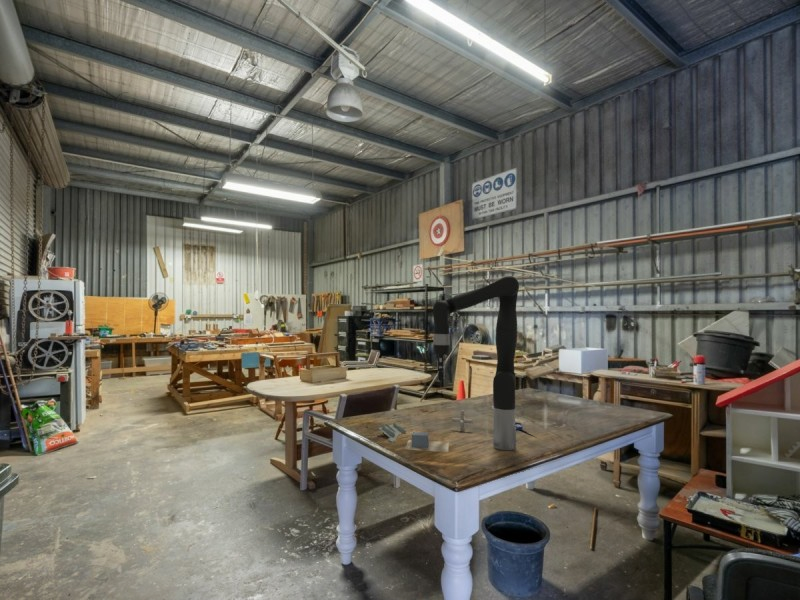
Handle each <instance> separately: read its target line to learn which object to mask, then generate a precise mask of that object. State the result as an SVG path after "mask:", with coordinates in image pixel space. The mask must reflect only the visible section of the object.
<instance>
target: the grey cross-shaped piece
mask: <svg viewBox="0 0 800 600" xmlns="http://www.w3.org/2000/svg"><path fill="white" fill-rule="evenodd" d="M451 421H452V422H455V423H458V425H459V426H460V432H465V424H473V421H474V420H473V419H468V418H466V417H465V410H460V418H457V417H456V418H455V417H452V419H451Z"/></svg>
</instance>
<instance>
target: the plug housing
mask: <svg viewBox="0 0 800 600" xmlns="http://www.w3.org/2000/svg"><path fill="white" fill-rule="evenodd" d="M411 440H412V447H422V448H428V446H429V441H430V433H429V432H418V431H416V432H415V431H412V433H411Z"/></svg>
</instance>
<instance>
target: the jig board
mask: <svg viewBox="0 0 800 600" xmlns="http://www.w3.org/2000/svg"><path fill="white" fill-rule="evenodd" d="M406 443H407V444H406V446H405V447H404V450H408V451H421V452H422V451H424V452H426V451H427V452H437V453H439V452H440V453H449V447H450V446H449V445H450V442H448V441H434V440H429V446H428V448H422V447H412V439H408V440H407V442H406Z"/></svg>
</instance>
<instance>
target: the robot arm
mask: <svg viewBox="0 0 800 600" xmlns="http://www.w3.org/2000/svg"><path fill="white" fill-rule="evenodd" d="M519 289H520V283H519V281H518V279H517V278H516V277H515V276H512V275H504V276H502V277H501V278H499V279H498V280H496V281H493V282H492V283H489V284H487V285H484V286H482V287H479V288H475V289H472V290H469V291H466V292H463V293H459V294H457V295H455V296H453V297H451V298H448V299H444V300H438V301H435V303H434V304H433V306H432V315H433V316H432V317H433V322H434V323H433V339H432V341H433V342H432V343H433V344H432V346H433V347H432V349H433V350H432V353H433V354H434V355H438V357H436V368H437V381H443V380H444V377H445V368H446V362H447V361H446V360H447V359H446V358H447V357H445V355H449V354H450V352H451V351H450V345H451V344H450V324H449V322H448V321H449V316H448V315H450V314H453V313H455V312H458V311H463V310H465V309H468V308H471V307H474V306H477V305H478V304H482V303H483V302H487V301H489V300H491V299H495V298H499V299H498V301H499V302H498V303H499V306H498V307H499V308H498V314H497V319H496V325H495V326H496V327H495V347H496V355H497V360H496V370H495V375H494V377H493V380H492V400H493V425H492V426H493V433H492V434H493V435H492V436H493V439H492V441H493V442H492V443H493V448H494V449H496V450H501V451H513V450H514V451H516V450H517V431H516V427H515V422H516V375H515V356H516V350H517V342H518V318H517V317H518V316H517V300H518V295H519V294H518V293H519Z"/></svg>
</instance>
